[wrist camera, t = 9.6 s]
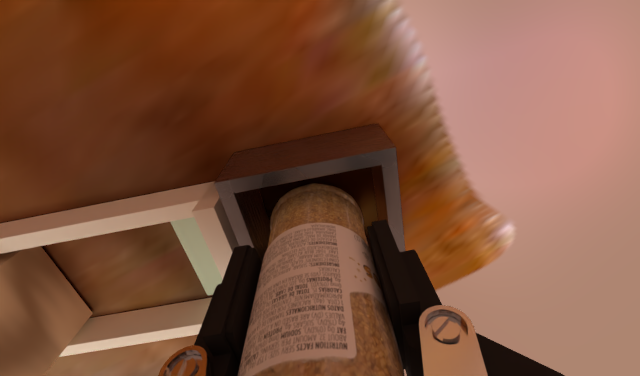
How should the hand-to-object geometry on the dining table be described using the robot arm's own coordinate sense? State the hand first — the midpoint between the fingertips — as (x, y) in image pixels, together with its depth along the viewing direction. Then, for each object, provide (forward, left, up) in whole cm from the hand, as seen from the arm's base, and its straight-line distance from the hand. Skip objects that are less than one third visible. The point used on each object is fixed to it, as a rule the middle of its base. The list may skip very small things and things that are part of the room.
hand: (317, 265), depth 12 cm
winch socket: (0, 0, -5) cm, 5 cm away
